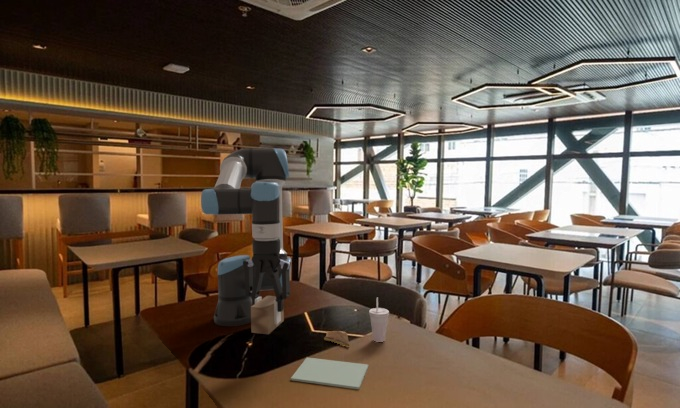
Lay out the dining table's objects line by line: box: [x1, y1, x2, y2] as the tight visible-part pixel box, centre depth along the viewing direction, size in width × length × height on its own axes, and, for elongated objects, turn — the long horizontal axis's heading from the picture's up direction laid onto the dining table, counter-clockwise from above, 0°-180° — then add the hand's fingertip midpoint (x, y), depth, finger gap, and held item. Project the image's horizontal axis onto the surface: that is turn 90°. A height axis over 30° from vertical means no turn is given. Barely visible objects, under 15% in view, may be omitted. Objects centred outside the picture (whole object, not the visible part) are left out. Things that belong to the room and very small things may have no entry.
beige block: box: [250, 295, 285, 335], centre depth 107 cm, size 5×10×7 cm, turn 165°
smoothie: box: [368, 297, 390, 343], centre depth 124 cm, size 6×6×14 cm
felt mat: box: [290, 356, 369, 390], centre depth 103 cm, size 18×12×1 cm, turn 75°
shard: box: [323, 330, 350, 347], centre depth 124 cm, size 11×8×2 cm
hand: (268, 321), depth 107 cm, fingers closed on beige block, 5 cm apart
